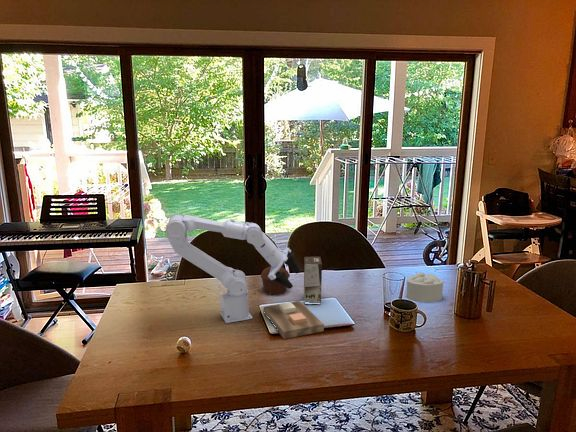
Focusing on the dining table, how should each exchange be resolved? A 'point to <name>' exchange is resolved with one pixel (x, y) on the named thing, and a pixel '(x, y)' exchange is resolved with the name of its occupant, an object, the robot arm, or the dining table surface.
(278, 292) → the muffin
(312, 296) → the coffee box
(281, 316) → the key block
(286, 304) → the cream small block
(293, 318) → the terracotta key
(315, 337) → the dining table surface
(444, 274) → the dining table surface
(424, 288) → the lumpy-topped squat cylinder
